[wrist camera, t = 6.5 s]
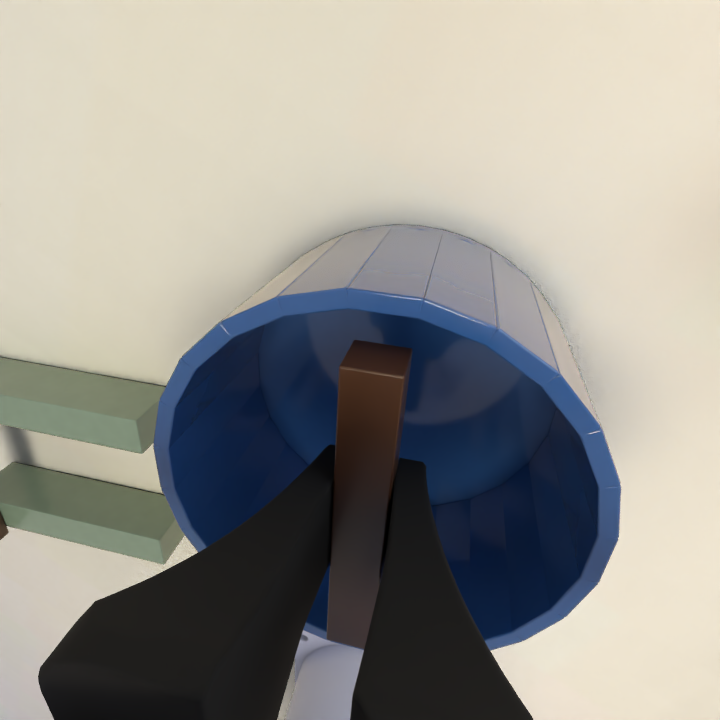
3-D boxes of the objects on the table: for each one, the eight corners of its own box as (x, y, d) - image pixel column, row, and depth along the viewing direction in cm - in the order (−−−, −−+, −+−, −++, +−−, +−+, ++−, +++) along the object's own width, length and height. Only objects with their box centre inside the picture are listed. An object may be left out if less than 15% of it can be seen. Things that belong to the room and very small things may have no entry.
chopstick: (379, 609, 14) (371, 652, 13) (337, 599, 14) (325, 640, 13) (413, 347, 10) (405, 376, 9) (353, 338, 10) (338, 366, 9)
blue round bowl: (526, 527, 19) (547, 698, 14) (260, 473, 21) (180, 604, 15) (615, 246, 14) (710, 336, 8) (247, 206, 16) (118, 257, 10)
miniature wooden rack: (192, 524, 24) (164, 565, 22) (21, 484, 25) (-22, 519, 23) (173, 387, 20) (136, 420, 18) (-27, 351, 22) (-84, 378, 19)
